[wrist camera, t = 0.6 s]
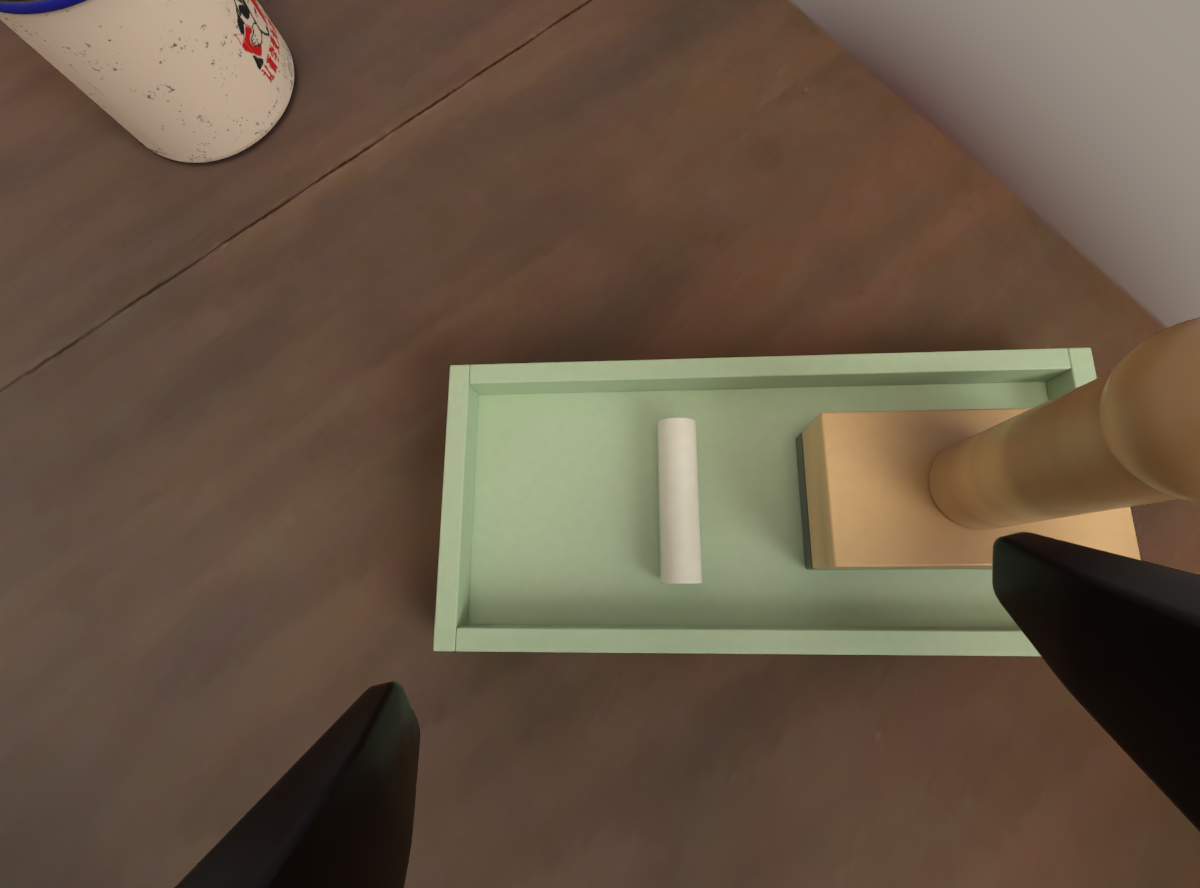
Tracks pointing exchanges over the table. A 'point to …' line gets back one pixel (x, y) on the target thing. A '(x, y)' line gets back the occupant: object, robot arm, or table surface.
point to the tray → (727, 506)
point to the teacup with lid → (168, 67)
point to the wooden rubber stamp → (1004, 468)
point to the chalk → (679, 502)
